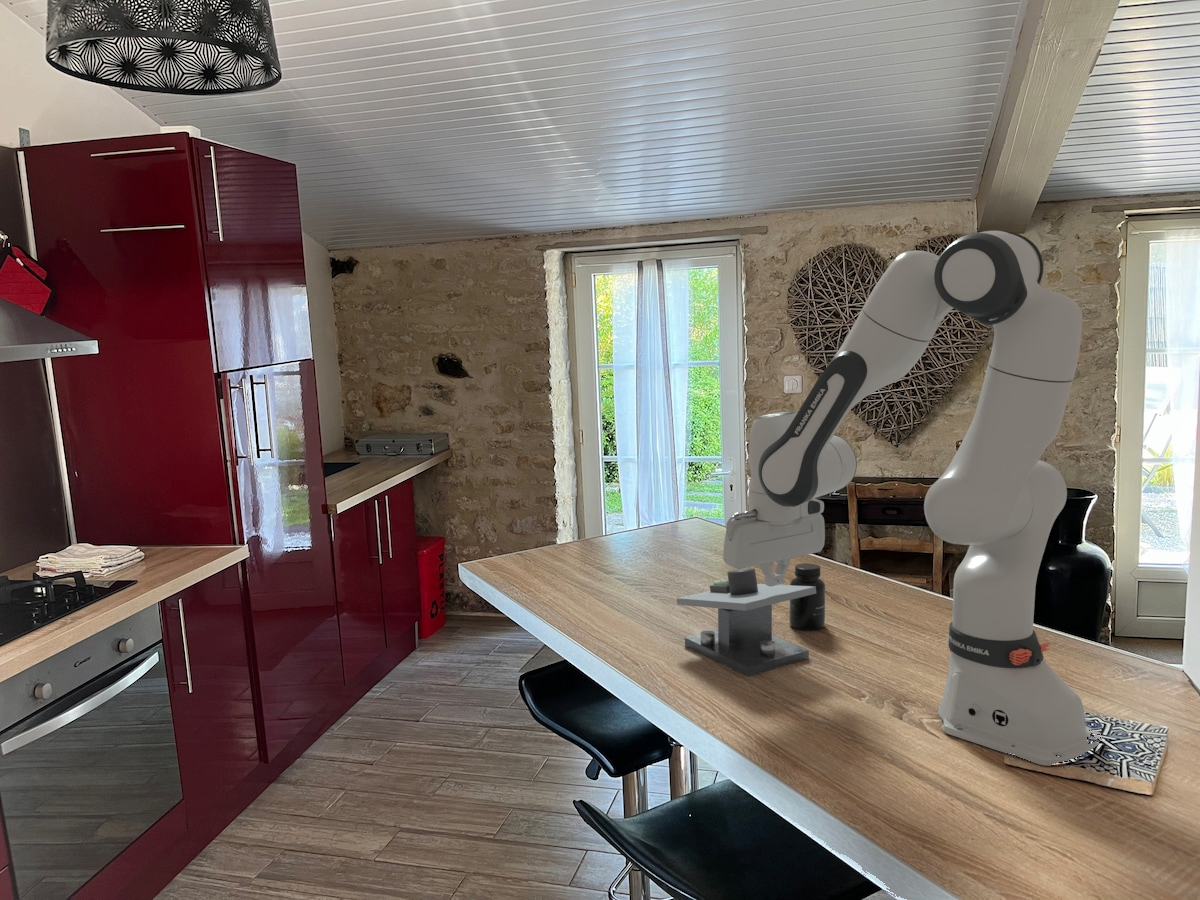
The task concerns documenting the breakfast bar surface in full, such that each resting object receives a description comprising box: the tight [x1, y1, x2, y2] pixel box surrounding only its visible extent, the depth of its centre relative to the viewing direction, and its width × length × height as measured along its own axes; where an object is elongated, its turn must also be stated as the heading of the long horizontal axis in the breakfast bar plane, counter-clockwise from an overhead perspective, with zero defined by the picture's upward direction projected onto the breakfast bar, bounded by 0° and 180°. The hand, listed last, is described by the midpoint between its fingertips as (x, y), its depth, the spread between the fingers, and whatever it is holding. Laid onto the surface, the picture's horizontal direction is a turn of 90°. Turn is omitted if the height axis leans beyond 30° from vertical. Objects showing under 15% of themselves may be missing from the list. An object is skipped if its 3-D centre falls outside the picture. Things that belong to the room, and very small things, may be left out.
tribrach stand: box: [684, 604, 810, 677], centre depth 169 cm, size 18×14×9 cm
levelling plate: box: [676, 567, 816, 611], centre depth 168 cm, size 20×16×6 cm
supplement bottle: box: [788, 563, 826, 631], centre depth 182 cm, size 7×7×12 cm
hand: (774, 584), depth 161 cm, fingers closed
